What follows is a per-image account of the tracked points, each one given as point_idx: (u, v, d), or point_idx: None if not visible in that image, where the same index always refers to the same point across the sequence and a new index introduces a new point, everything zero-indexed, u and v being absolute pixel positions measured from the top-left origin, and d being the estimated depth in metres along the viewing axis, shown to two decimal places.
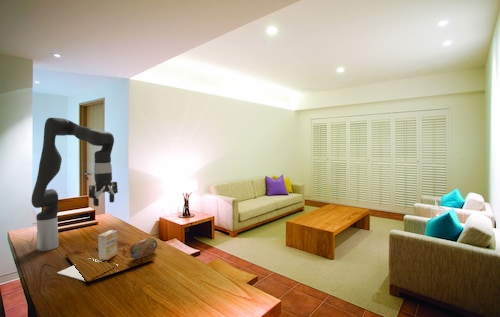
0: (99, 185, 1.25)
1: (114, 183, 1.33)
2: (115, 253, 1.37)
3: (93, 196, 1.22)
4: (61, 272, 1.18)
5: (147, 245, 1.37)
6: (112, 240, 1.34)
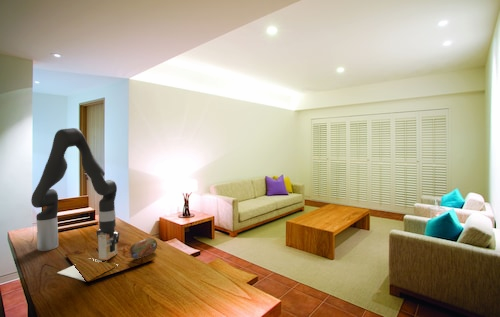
0: None
1: None
2: (115, 253, 1.37)
3: None
4: (61, 272, 1.18)
5: (147, 245, 1.37)
6: (112, 240, 1.34)
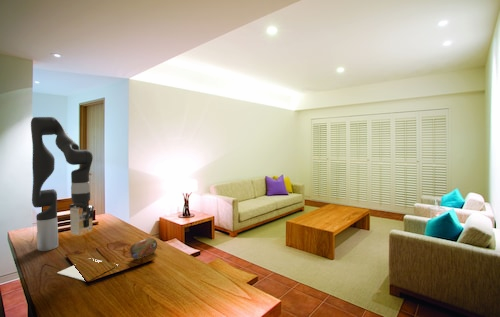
0: None
1: None
2: (90, 229, 1.26)
3: None
4: (61, 272, 1.18)
5: (147, 245, 1.37)
6: None
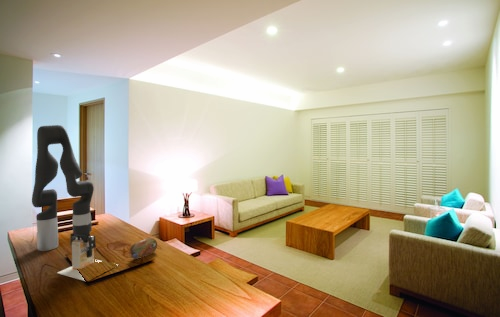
0: None
1: None
2: (91, 261, 1.26)
3: None
4: (61, 272, 1.18)
5: (147, 245, 1.37)
6: None
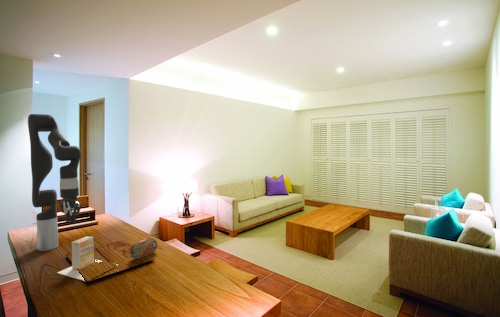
0: None
1: None
2: (91, 261, 1.26)
3: None
4: (61, 272, 1.18)
5: (147, 245, 1.37)
6: (87, 247, 1.24)
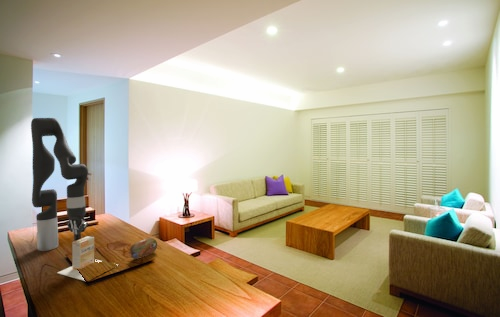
0: None
1: None
2: (91, 261, 1.26)
3: None
4: (61, 272, 1.18)
5: (147, 245, 1.37)
6: (88, 247, 1.24)
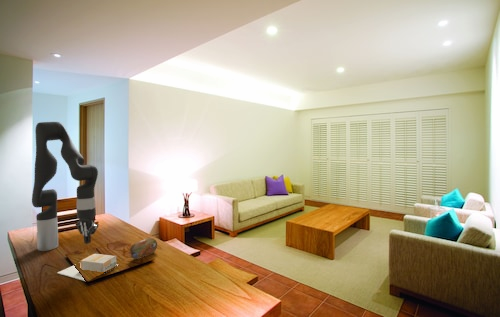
0: None
1: None
2: None
3: None
4: (61, 272, 1.18)
5: (147, 245, 1.37)
6: None
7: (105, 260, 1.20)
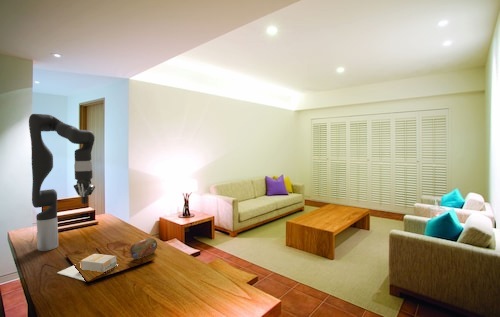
0: None
1: None
2: None
3: None
4: (61, 272, 1.18)
5: (147, 245, 1.37)
6: None
7: (105, 260, 1.20)
